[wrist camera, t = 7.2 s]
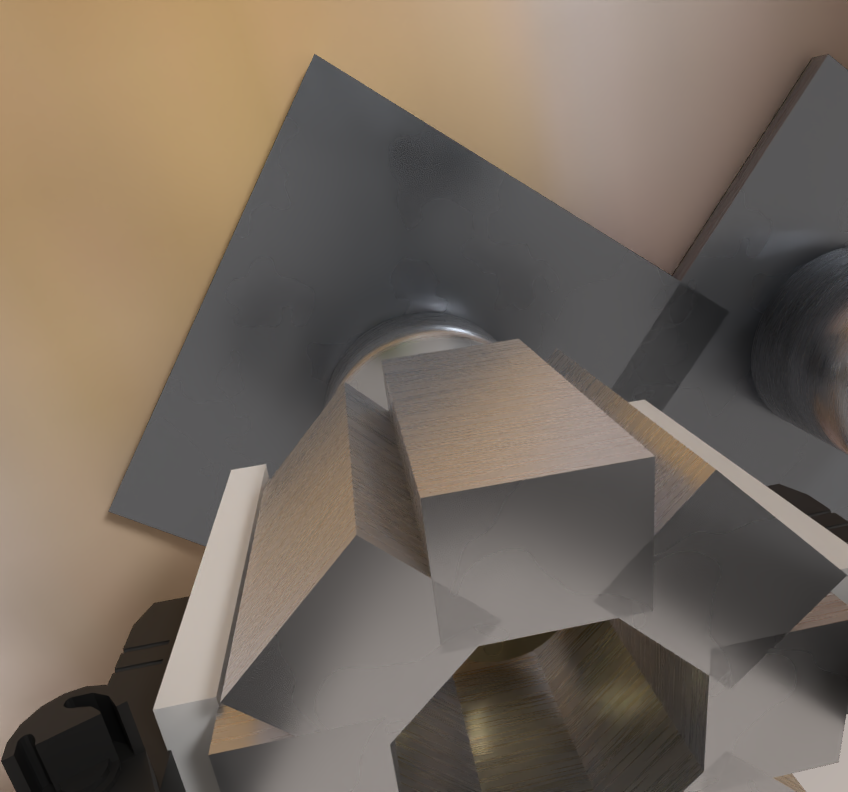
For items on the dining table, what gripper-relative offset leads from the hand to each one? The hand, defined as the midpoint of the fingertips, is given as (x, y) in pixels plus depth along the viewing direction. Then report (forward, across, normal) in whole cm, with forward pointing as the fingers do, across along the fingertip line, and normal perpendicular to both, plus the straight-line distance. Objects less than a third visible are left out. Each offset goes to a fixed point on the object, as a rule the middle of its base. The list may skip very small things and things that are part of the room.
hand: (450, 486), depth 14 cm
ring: (-2, 0, 0) cm, 2 cm away
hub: (+5, 0, 0) cm, 5 cm away
